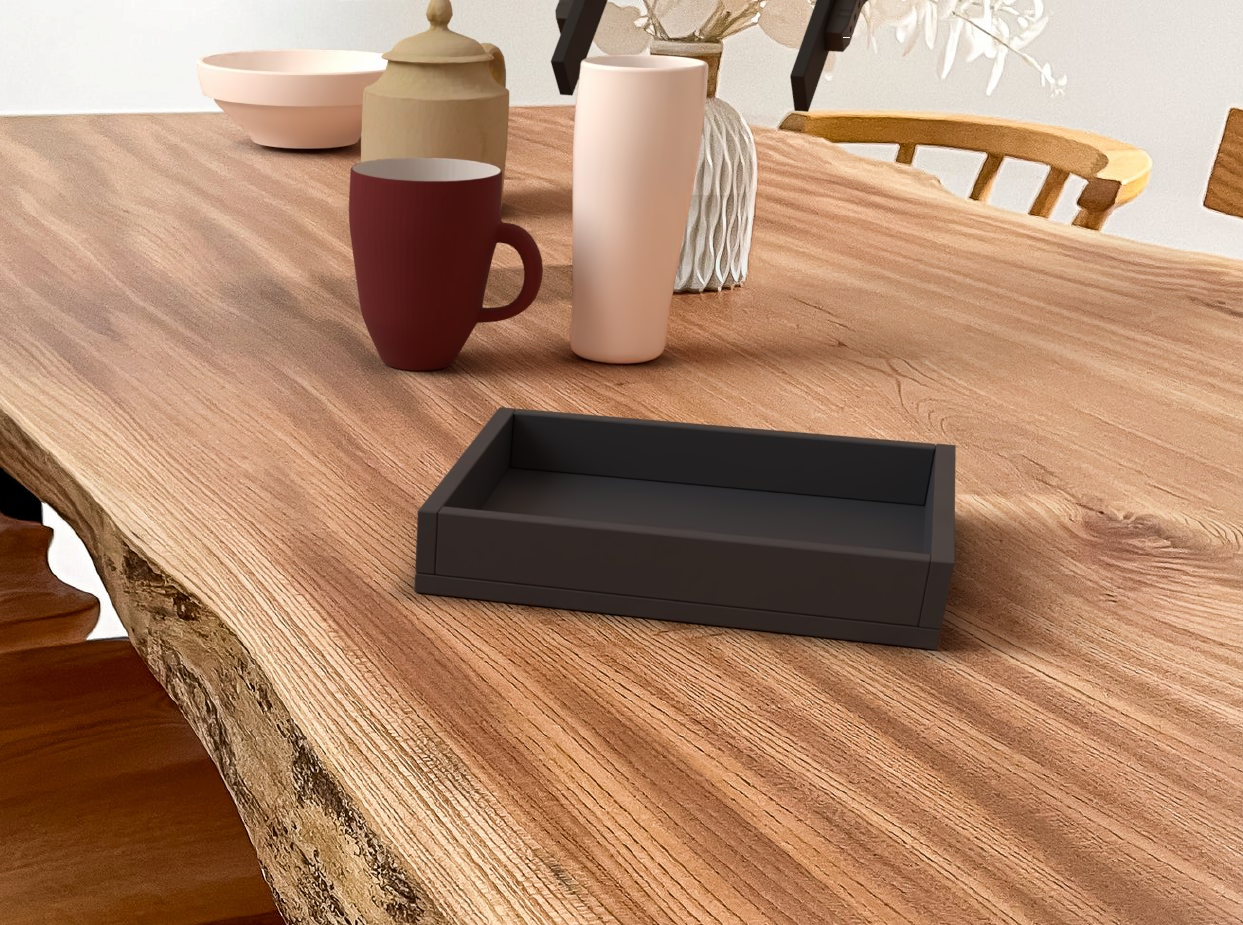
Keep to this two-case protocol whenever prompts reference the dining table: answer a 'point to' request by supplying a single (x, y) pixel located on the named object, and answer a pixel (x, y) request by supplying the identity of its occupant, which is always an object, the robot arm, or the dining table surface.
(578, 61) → the robot arm
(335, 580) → the dining table surface
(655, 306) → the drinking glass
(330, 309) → the dining table surface
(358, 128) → the bowl
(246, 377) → the dining table surface
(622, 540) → the tray
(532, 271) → the mug
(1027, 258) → the dining table surface
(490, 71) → the sugar bowl
